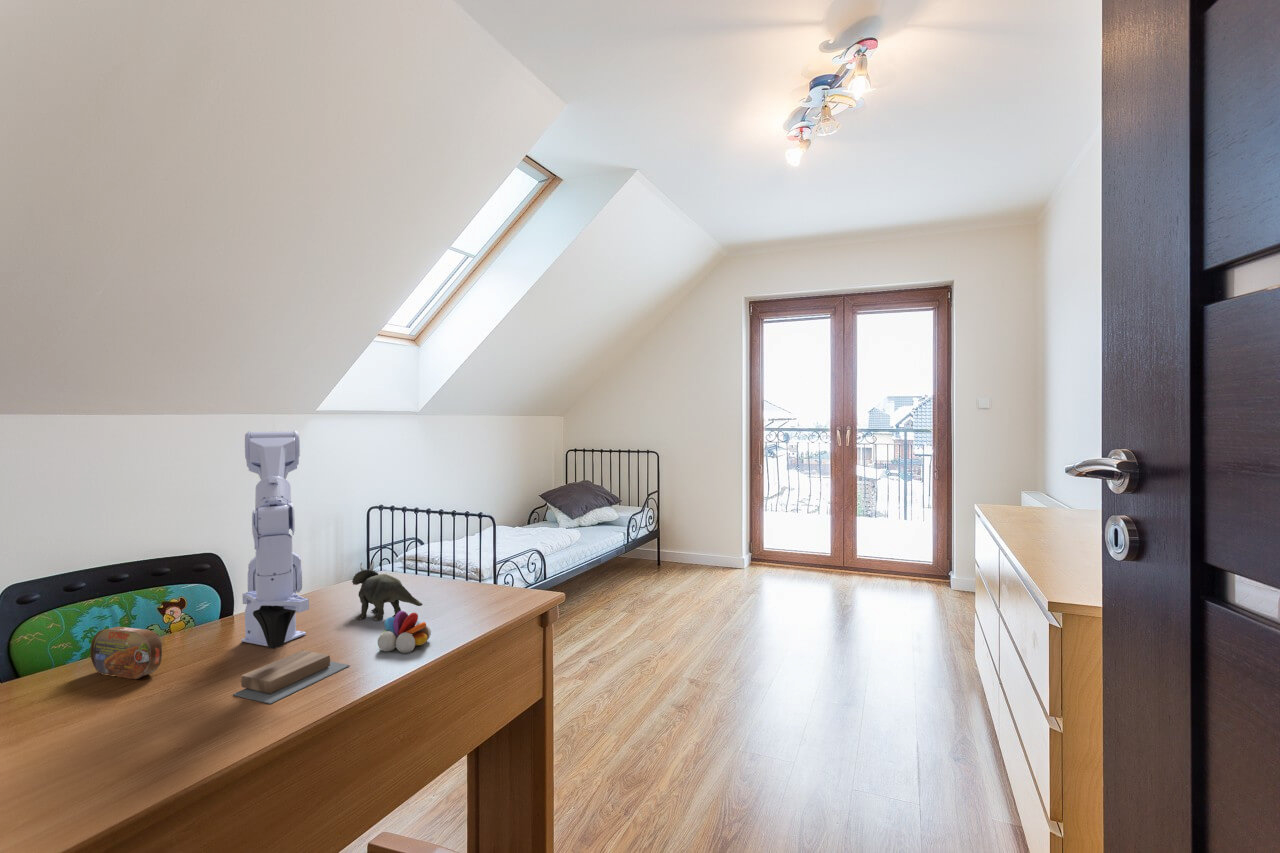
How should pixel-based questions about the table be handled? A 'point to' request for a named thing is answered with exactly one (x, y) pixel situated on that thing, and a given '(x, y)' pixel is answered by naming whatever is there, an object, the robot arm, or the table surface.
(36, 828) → the table surface
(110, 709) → the table surface
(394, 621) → the rainbow petal rattle
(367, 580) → the dinosaur figurine
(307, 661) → the wooden block
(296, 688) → the felt mat
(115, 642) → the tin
